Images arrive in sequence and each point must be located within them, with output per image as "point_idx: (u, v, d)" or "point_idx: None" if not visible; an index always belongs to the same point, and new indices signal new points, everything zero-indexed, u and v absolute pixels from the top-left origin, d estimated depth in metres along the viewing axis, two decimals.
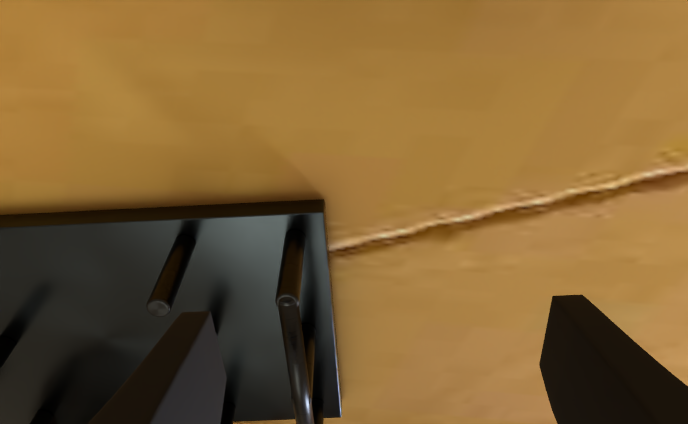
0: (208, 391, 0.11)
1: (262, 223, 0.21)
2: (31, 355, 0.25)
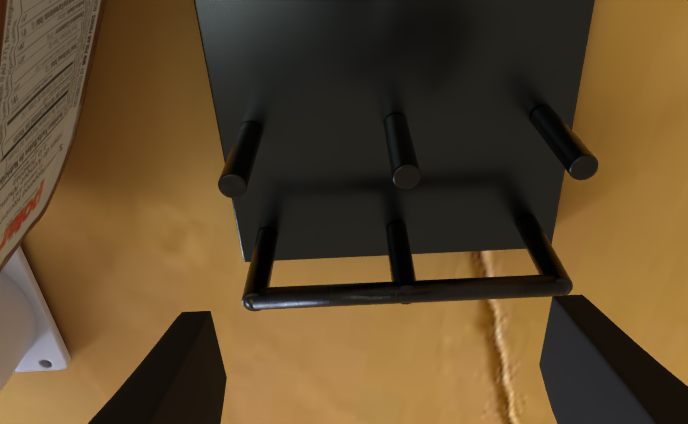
0: (208, 390, 0.11)
1: (550, 195, 0.20)
2: None
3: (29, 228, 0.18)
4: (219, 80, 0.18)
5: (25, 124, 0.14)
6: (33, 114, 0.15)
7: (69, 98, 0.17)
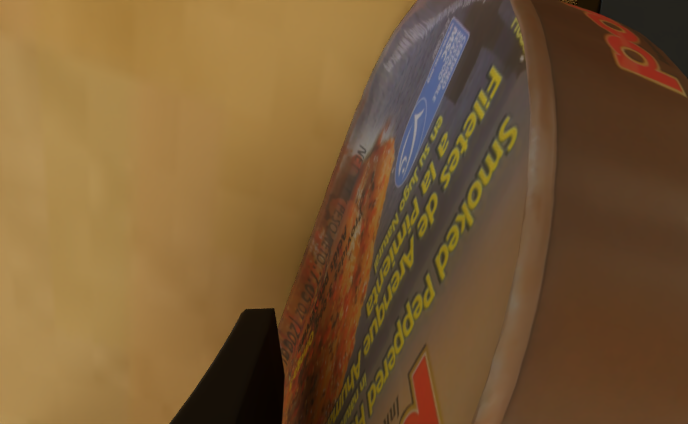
0: (274, 389, 0.11)
1: None
2: None
3: None
4: None
5: None
6: None
7: None
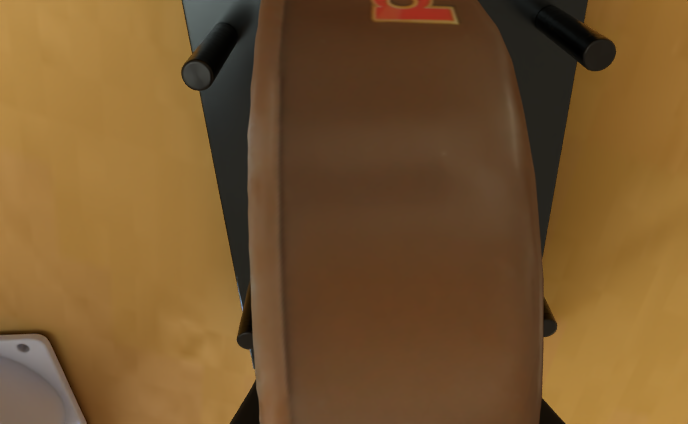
0: None
1: None
2: None
3: None
4: (236, 232, 0.20)
5: None
6: None
7: None
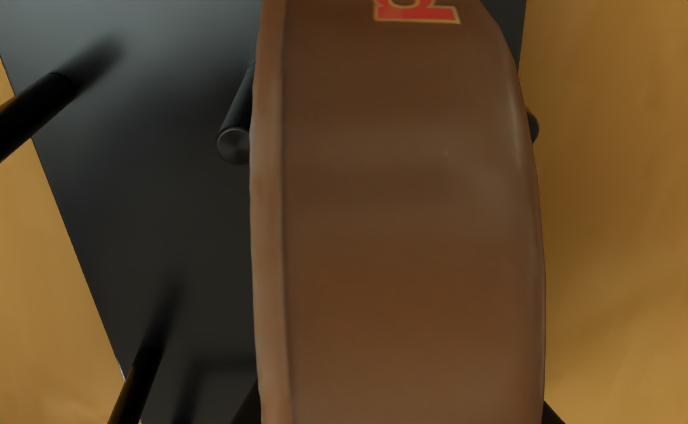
0: None
1: None
2: None
3: None
4: (110, 316, 0.17)
5: None
6: None
7: None
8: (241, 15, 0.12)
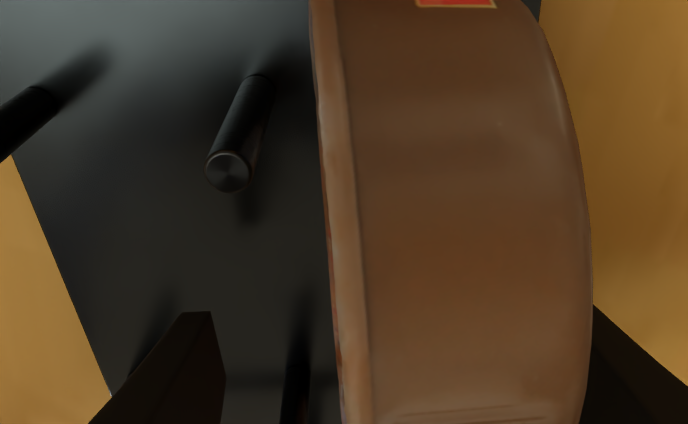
0: (208, 390, 0.11)
1: None
2: None
3: None
4: (98, 339, 0.16)
5: None
6: None
7: None
8: (233, 26, 0.11)
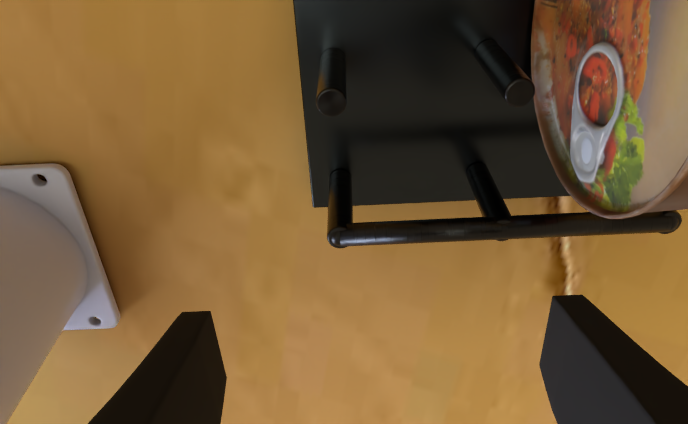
0: (208, 391, 0.11)
1: None
2: None
3: None
4: (304, 1, 0.17)
5: None
6: None
7: None
8: None
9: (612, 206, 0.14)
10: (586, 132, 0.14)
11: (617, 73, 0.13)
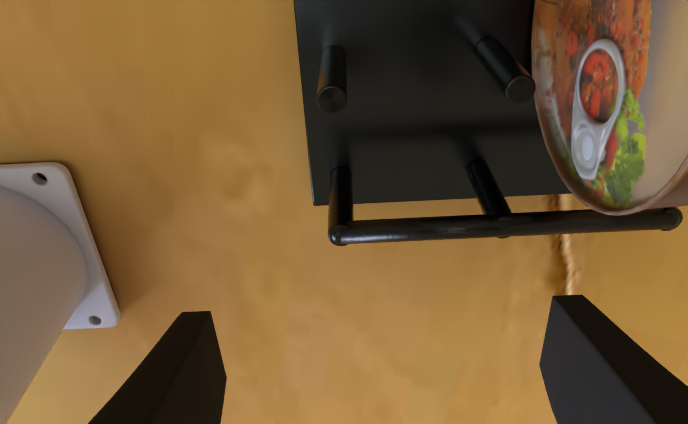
0: (208, 391, 0.11)
1: None
2: None
3: None
4: None
5: None
6: None
7: None
8: None
9: (613, 203, 0.14)
10: (588, 128, 0.14)
11: (618, 69, 0.13)
